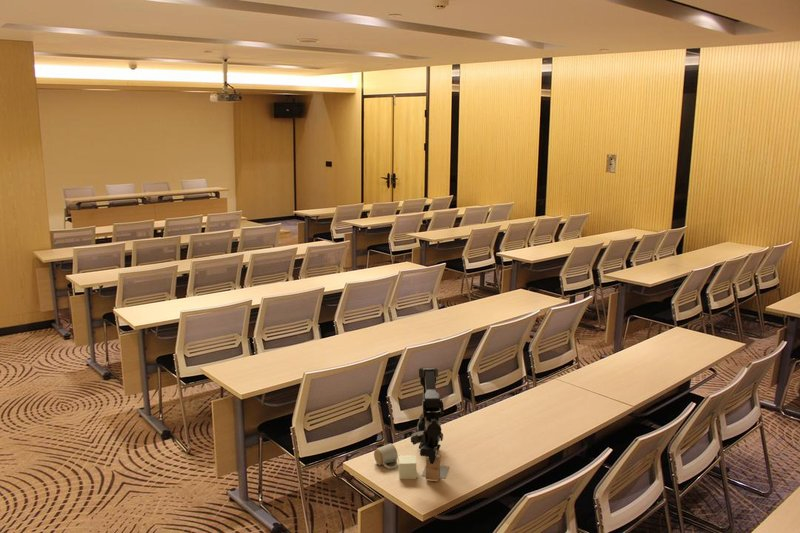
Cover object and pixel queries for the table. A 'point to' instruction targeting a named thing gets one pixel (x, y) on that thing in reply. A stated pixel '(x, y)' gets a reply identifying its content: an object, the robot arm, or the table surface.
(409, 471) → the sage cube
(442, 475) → the felt pad
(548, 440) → the table surface
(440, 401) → the robot arm
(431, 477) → the walnut block
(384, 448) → the ceramic mug
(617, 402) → the table surface
